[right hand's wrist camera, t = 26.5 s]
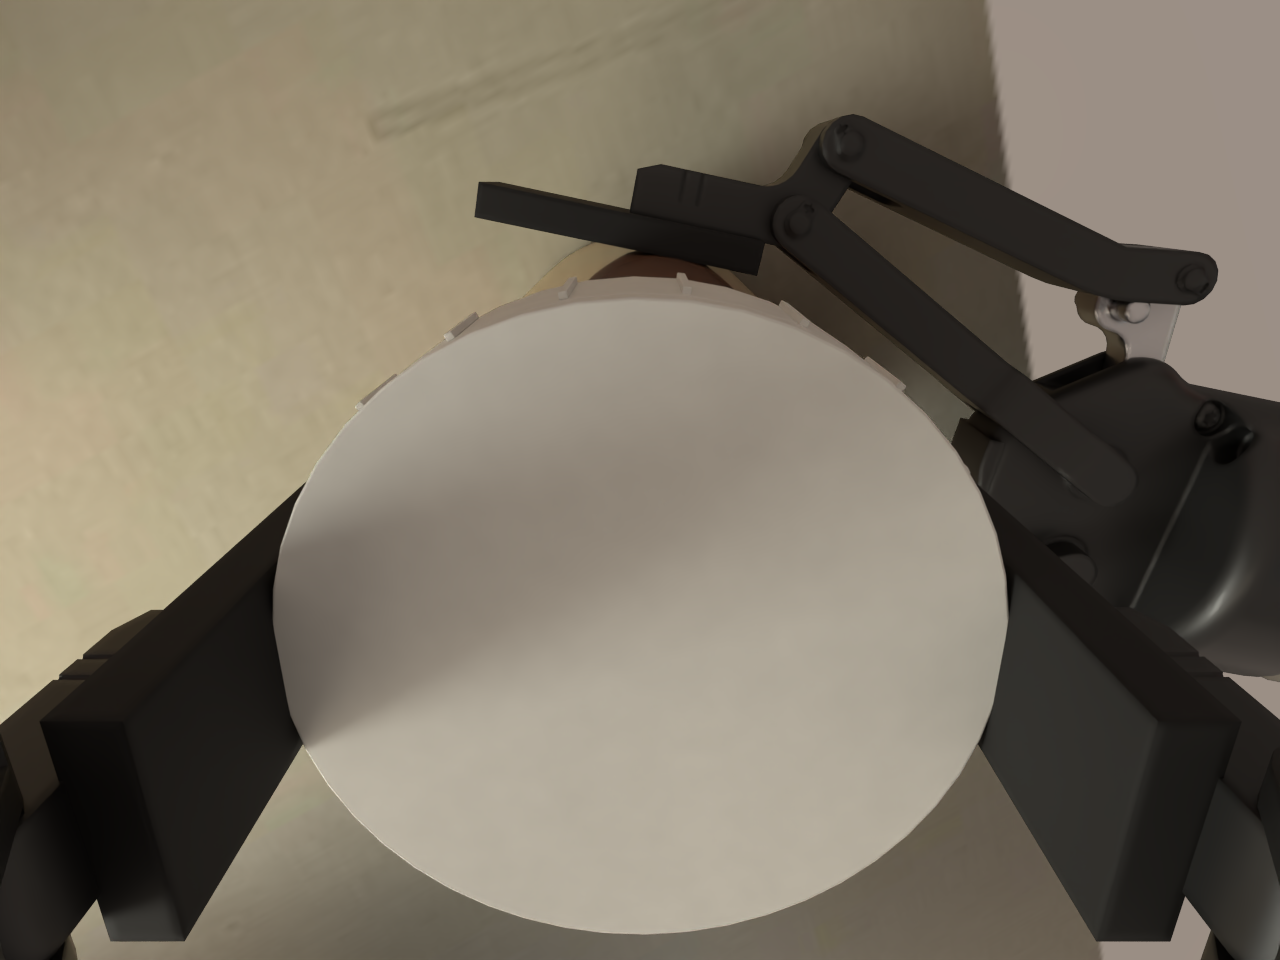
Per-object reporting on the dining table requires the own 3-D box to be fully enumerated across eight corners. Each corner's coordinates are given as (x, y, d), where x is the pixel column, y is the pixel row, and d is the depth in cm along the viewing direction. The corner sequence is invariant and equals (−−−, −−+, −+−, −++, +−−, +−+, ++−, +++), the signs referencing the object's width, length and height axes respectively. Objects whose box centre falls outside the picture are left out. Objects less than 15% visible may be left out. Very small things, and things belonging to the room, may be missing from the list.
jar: (782, 459, 28) (966, 815, 12) (546, 504, 29) (433, 897, 13) (746, 208, 25) (927, 252, 9) (483, 263, 26) (235, 392, 10)
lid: (1089, 531, 12) (1177, 600, 10) (695, 913, 14) (704, 1026, 13) (560, 113, 10) (542, 95, 8) (219, 648, 12) (142, 734, 11)
